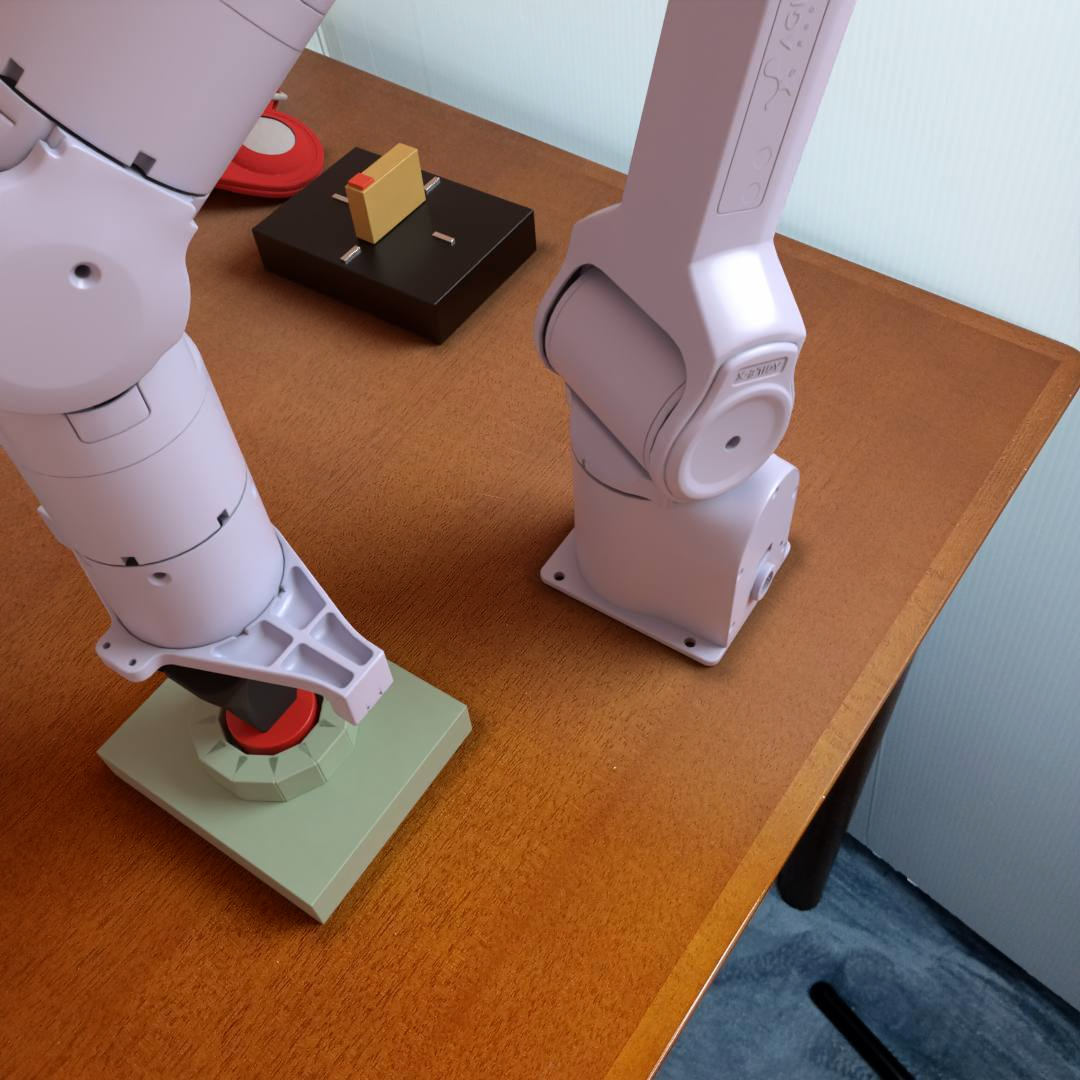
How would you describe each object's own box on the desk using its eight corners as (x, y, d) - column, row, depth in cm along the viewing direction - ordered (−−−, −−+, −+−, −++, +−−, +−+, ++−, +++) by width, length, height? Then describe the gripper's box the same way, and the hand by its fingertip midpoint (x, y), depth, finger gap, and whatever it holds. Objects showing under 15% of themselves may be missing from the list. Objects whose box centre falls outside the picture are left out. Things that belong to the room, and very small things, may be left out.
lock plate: (537, 250, 66) (534, 206, 64) (441, 345, 62) (433, 302, 59) (364, 185, 72) (355, 143, 69) (263, 269, 67) (249, 226, 64)
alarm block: (473, 729, 47) (462, 684, 43) (324, 925, 42) (299, 890, 39) (270, 610, 51) (247, 560, 48) (115, 774, 46) (77, 731, 43)
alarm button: (341, 714, 45) (332, 693, 43) (284, 782, 43) (272, 763, 42) (278, 675, 46) (267, 653, 45) (219, 739, 44) (206, 719, 43)
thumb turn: (408, 193, 66) (398, 138, 63) (426, 199, 65) (417, 145, 62) (356, 237, 63) (343, 182, 60) (374, 244, 63) (362, 189, 60)
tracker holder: (352, 164, 71) (207, 187, 66) (344, 215, 75) (206, 241, 70) (276, 50, 76) (135, 64, 71) (272, 103, 79) (137, 120, 74)
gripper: (-103, 484, 33) (74, 697, 44) (235, 702, 28) (342, 885, 39) (71, 349, 37) (195, 578, 47) (402, 520, 31) (458, 735, 42)
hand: (269, 707), depth 43 cm, fingers closed, pressing on alarm button
